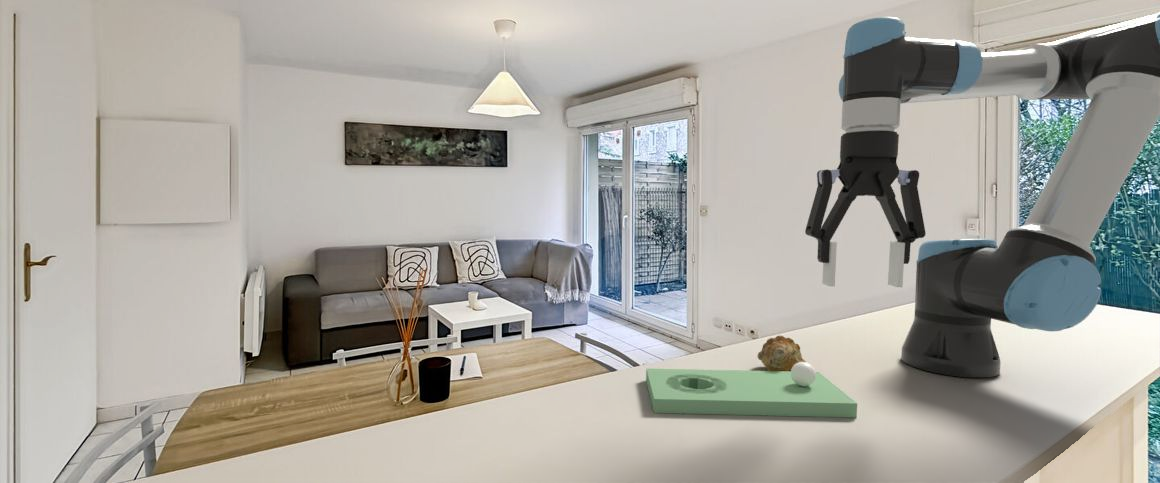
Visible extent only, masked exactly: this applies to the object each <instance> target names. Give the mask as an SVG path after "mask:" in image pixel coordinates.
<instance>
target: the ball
mask: <svg viewBox="0 0 1160 483" xmlns="http://www.w3.org/2000/svg"><path fill="white" fill-rule="evenodd" d="M790 371H791V378H792V380H793V381H794V382H795V383H796V384H797V385H799V386H809V385H811V384H812V383H813V382H814V381H815V379H816V372H817V371H816V369H815V368H814V366H813V365H812V364H810V363H809V362H807V361H806V362H799V363H796V364H795V365H794V366H793V367H792V369H791V370H790Z"/></svg>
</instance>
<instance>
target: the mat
mask: <svg viewBox="0 0 1160 483" xmlns="http://www.w3.org/2000/svg"><path fill="white" fill-rule="evenodd" d="M645 370H646V371H645V373H646V374H645V382H646V386H647V390H648V394H649V398H650V403H651V406H653V407H652V409H653V410H654V411H653V413H654V412H655V413H654V414H683V413H684V414H689V415H690V414H691V415H693V414H694V415H732V416H733V415H734V416H735V415H736V416H773V417H775V416H777V417H780V416H781V417H818V418H824V417H825V418H857V414H858V403H857V402H856V401H855V400H854V399H852V397H850V396H849V395H848V394H846V393H845V392H844V391H843V390H841V389H840V388H839V387H838V386H837V385H835V384H834V383H833V382H831V381H830V380H829V379H828V378H827V377H825V375H824V374H822V373H820V371H816V379H815V381H814V382H813V383H812V384H811V385H809V386H799V385H797V384H796V383H795V382H794V381H793V380H792V378H791V370H789V371H768V370H736V369H735V370H732V369H692V368H691V369H686V368H684V369H683V368H678V369H677V368H645Z"/></svg>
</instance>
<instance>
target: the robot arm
mask: <svg viewBox="0 0 1160 483" xmlns="http://www.w3.org/2000/svg"><path fill="white" fill-rule="evenodd" d="M905 26H906V24H905V22H904V21H903V20H902V19H899V18H898V17H892V16H881V17H873V18H867V19H864V20H861V21H858V22H856V23H854V24H852V26H850V27H849V28H848V30H847V32H846V37H845V41H844V42H845V43H844V44H845V46H844V54H843V57H842V58H843V74H842V76H841V78H840V79H839V83H838V94H839V98H840V100H841V101H842V110H841V128H840V129H841V130H842V131H843V132H845V133H843V134H842V135H841V136H840V148H839V151H840V152H839V161H840V162H839V165H838V166H837V168H836V169H821V170H818V171H817V173H816V178H817V179H816V180H817V187H816V190H815V195H814V199H813V201H812V206H811V209H810V213H809V217H808V220H807V224H806V227H805V231H804V232H805V235H807V236H809V237H812V238H813V239H816V240H817V258H816V259H817V261H818V262H819V263H823V264H822V280H821V282H822V284H823V285H825V286H828V287H835V286H836V269H837V268H836V267H837V266H836V265H837V246H838V244H837V243H838V242H837V241H833V240H832V238H833V237H834V235H835V233H836V232H837V229H838V228H839V226H840V225H841V223H842V221H843V219H844V218H845V216H846V214H847V211H849V209H850V207H851V205H852V203H853V202H854V201H855V200H856V199H857V197H860V196H861V197H864V196H867V197H872V196H873V197H875V199H876V201H878V202H879V204H880V207H881V209H882V211H883V213H884V215H885V217H886V219H887V222H888V224H889V227H890V228H891V231H892V233H893V235H894V236H895V237H894V238H895V239H896V240H895V241H894V240H890V241H889V259H888V275H887V276H888V277H887V285H889V286H892V287H895V288H903V282H904V281H903V280H904V268H905V267H904V265H908V264H909V262H910V258H911V244H913V243H914V242H916V240H917V239H924V237H925V236H926V227H925V222H924V218H923V211H922V206H921V200H920V199H921V198H920V194H919V188H918V185H919V179H920V171H918V170H913V169H912V170H911V169H910V170H903V169H899V166H898V163H897V159H898V155H899V142H900V141H899V137H900V134H899V133H898V132H897V131H895V130H897V129H898V128H899V127H900V123H901V122H900V121H901V120H900V119H901V105H902V104H910V103H911V104H912V103H926V102H939V101H941V102H942V101H953V100H955V101H956V100H967V99H982V98H983V99H984V98H996V97H1009V96H1011V97H1012V96H1016V97H1017V98H1019V99H1021V100H1024V101H1025V100H1026V101H1036V100H1090V102H1089V104H1088V105H1087V108H1086V110H1085V111H1084V113H1083V116H1082V117H1081V119H1080V121H1079V122H1078V124H1077V126H1076V128H1075V129H1074V132H1073V133H1072V136H1071V137H1070V139H1069V141H1068V142H1067V144H1066V146H1065V148H1064V150H1063V152H1062V154H1061V155H1060V157H1059V159H1058V160H1057V163H1056V164H1055V167H1054V168H1053V170H1052V172H1051V174H1050V176H1049V177H1048V180H1047V181H1046V183H1045V185H1044V187H1043V189H1042V190H1041V193H1040V194H1039V196H1038V198H1037V200H1036V202H1035V204H1034V205H1033V207H1032V209H1031V211H1030V212H1029V214H1028V216H1027V219H1026V220H1025V222H1024V224H1023V225H1021V226H1018V227H1014V228H1011V229H1009V230H1007V232H1006V234H1005V235H1004V237H1003V239H1002V241H1001V242H1000V244H999V245H997V241H996V240H995V239H993V238H964V239H963V238H962V239H961V238H960V239H958V238H957V239H937V240H935V239H934V240H927V241H924V242H923V243H922V244H921V245H920V246H919V249H918V256H917V259H916V273H915V274H916V275H915V277H916V278H915V295H914V297H915V299H914V300H915V301H914V302H915V303H914V315H913V316H914V317H913V322H912V324H911V326H910V327H909V328H910V329H909V331H908V333H907V335H906V337H905V340H904V342H903V344H902V346H901V356H900V359H901V361H902V362H903V363H905V364H906V365H908V366H910V367H913V368H915V369H919V370H922V371H925V372H929V373H935V374H940V375H944V376H945V375H946V376H952V377H960V378H971V379H972V378H973V379H974V378H975V379H977V378H978V379H979V378H982V379H983V378H993V377H997V376H999V375H1000V374H1001V364H1002V362H1001V358H1000V354H999V351H998V348H997V345H996V340H995V339H994V335H993V332H992V328H991V327H992V320H996V321H1000V322H1004V323H1007V324H1012V325H1016V326H1018V327H1020V328H1023V329H1028V330H1037V331H1039V330H1040V331H1045V332H1061V331H1063V330H1068V329H1070V328H1074V327H1075V326H1078V325H1079V324H1081V323H1082V322H1083V321H1084V320H1086V318H1088V317H1089V316H1090V314H1092V312H1093V311H1094V310H1095V308H1096V306H1097V304H1098V303H1099V301H1100V298H1101V294H1102V288H1101V287H1099V285H1100V284H1102V278H1101V274H1100V272H1099V270H1098V268H1097V267H1096V266H1095V264H1096V261H1097V258H1096V256H1095V254H1094V252H1093V250H1092V249H1091V247H1090V246H1091V244H1092V242H1093V240H1094V238H1095V236H1096V235H1097V233H1098V230H1099V229H1100V227H1101V225H1102V224H1103V222H1104V220H1105V218H1106V215H1107V214H1108V212H1109V210H1110V209H1111V206H1112V205H1113V204H1114V201H1115V200H1116V198H1117V195H1118V194H1119V192H1120V190H1121V188H1122V186H1123V185H1124V183H1125V180H1126V178H1127V177H1128V175H1129V173H1130V171H1131V170H1132V168H1133V166H1134V164H1135V163H1136V160H1137V158H1138V157H1139V155H1140V153H1141V151H1142V150H1143V148H1144V146H1145V144H1146V142H1147V140H1148V138H1149V136H1150V135H1151V133H1152V131H1153V129H1154V127H1155V125H1156V124H1157V123H1158V120H1159V118H1160V11H1159V12H1158V13H1155V14H1152V15H1147V16H1144V17H1140V18H1135V19H1131V20H1128V21H1123V22H1120V23H1116V24H1112V25H1108V26H1105V27H1101V28H1096V29H1092V30H1089V31H1086V32H1082V33H1080V34H1077V35H1073V36H1069V37H1067V38H1062V39H1059V40H1056V41H1052V42H1046V43H1035V44H1034V43H1033V44H1031V45H1027V46H1026V47H1024V48H1022V49H1021V50H1014V51H1012V50H1011V51H1000V52H999V51H997V52H982V51H981V50H980V48H979V47H978V46H977V45H976V44H974V43H972V42H968V41H963V40H957V39H953V38H952V39H934V38H933V39H931V38H917V37H916V38H915V37H910V36H906V33H907V32H906V29H905V28H906V27H905ZM837 178H838V180H839V181H840V182H841V184H842V188H841V189H840V191H839V193H838V195H837V199H836V201H835V203H834V205H833V206H832V208H831V209H830V211H829V213H828V215H827V217H826V218H825V215H826V212H827V207H828V203H829V200H830V196H831V192H832V188H833V185H834V184H835V183H836V180H837ZM896 179H897V183H898V184H899V185H900V195H901V201H902V206H903V207H902V208H903V212H904V214H903V212H902V210H901V208H900V206H899V204H898V201H897V199H896V194H895V191H894V189H893V187H892V184H893V183H894V182H895V180H896ZM824 219H825V220H824ZM823 221H824V222H823Z"/></svg>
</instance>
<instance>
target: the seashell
mask: <svg viewBox="0 0 1160 483" xmlns="http://www.w3.org/2000/svg"><path fill="white" fill-rule="evenodd" d="M757 359H758V360H760V361H761V363H762V364H763V366H764V367H765V368H766V371H791V369H792V367H793V366H794V365H795V364H796V363H799V362H806V363H807V361H806V360H805V359H804V358H803V355H802V352H801V346H800V344H798V343H795V341H794V339H793V338H791V337H785V336H784V335H777V336H776V337H769V338H768V339H767V340H766V342H765V343H763V344H762V348H761V351H758V354H757Z"/></svg>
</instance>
